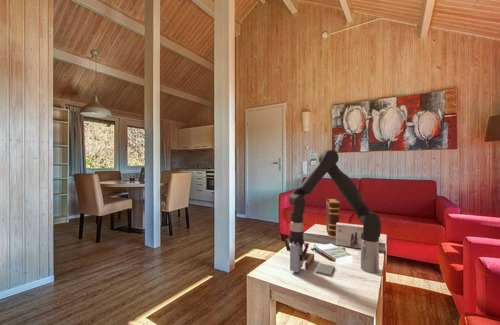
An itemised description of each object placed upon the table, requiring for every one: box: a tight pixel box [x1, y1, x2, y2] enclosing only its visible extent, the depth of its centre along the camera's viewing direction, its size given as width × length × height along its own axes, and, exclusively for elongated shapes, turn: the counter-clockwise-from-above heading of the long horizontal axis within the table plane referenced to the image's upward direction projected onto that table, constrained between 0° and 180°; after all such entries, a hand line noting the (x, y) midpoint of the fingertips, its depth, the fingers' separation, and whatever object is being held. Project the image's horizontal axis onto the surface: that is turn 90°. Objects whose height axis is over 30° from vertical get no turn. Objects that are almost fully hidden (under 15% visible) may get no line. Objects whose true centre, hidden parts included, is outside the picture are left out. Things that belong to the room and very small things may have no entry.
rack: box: [303, 252, 315, 271], centre depth 140 cm, size 10×16×4 cm
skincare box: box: [335, 222, 363, 249], centre depth 171 cm, size 21×6×16 cm, turn 68°
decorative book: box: [325, 197, 341, 239], centre depth 200 cm, size 22×8×30 cm, turn 168°
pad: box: [315, 262, 335, 277], centre depth 131 cm, size 8×12×1 cm, turn 151°
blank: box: [289, 243, 304, 273], centre depth 130 cm, size 4×9×14 cm, turn 151°
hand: (296, 259), depth 130 cm, fingers closed on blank, 4 cm apart
